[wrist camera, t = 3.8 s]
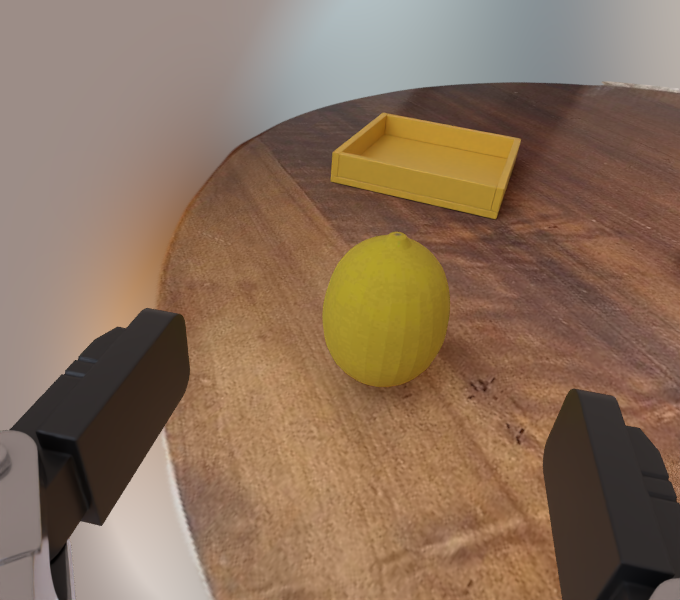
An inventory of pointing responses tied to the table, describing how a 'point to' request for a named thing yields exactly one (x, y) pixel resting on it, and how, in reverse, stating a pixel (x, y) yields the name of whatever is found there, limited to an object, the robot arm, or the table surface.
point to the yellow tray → (428, 163)
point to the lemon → (386, 310)
